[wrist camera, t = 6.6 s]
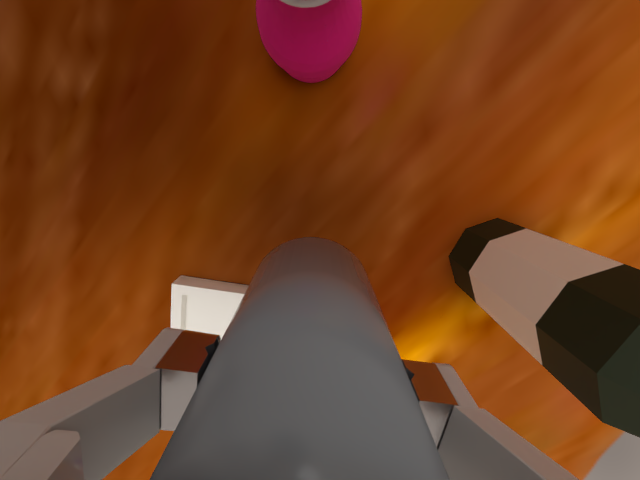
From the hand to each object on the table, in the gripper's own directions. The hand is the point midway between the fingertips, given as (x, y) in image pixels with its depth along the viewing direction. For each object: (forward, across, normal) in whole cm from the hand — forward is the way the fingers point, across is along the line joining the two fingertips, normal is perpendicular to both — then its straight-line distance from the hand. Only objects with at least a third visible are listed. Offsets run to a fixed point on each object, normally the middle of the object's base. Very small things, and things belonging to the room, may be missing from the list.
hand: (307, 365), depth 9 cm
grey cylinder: (+5, 0, 0) cm, 5 cm away
